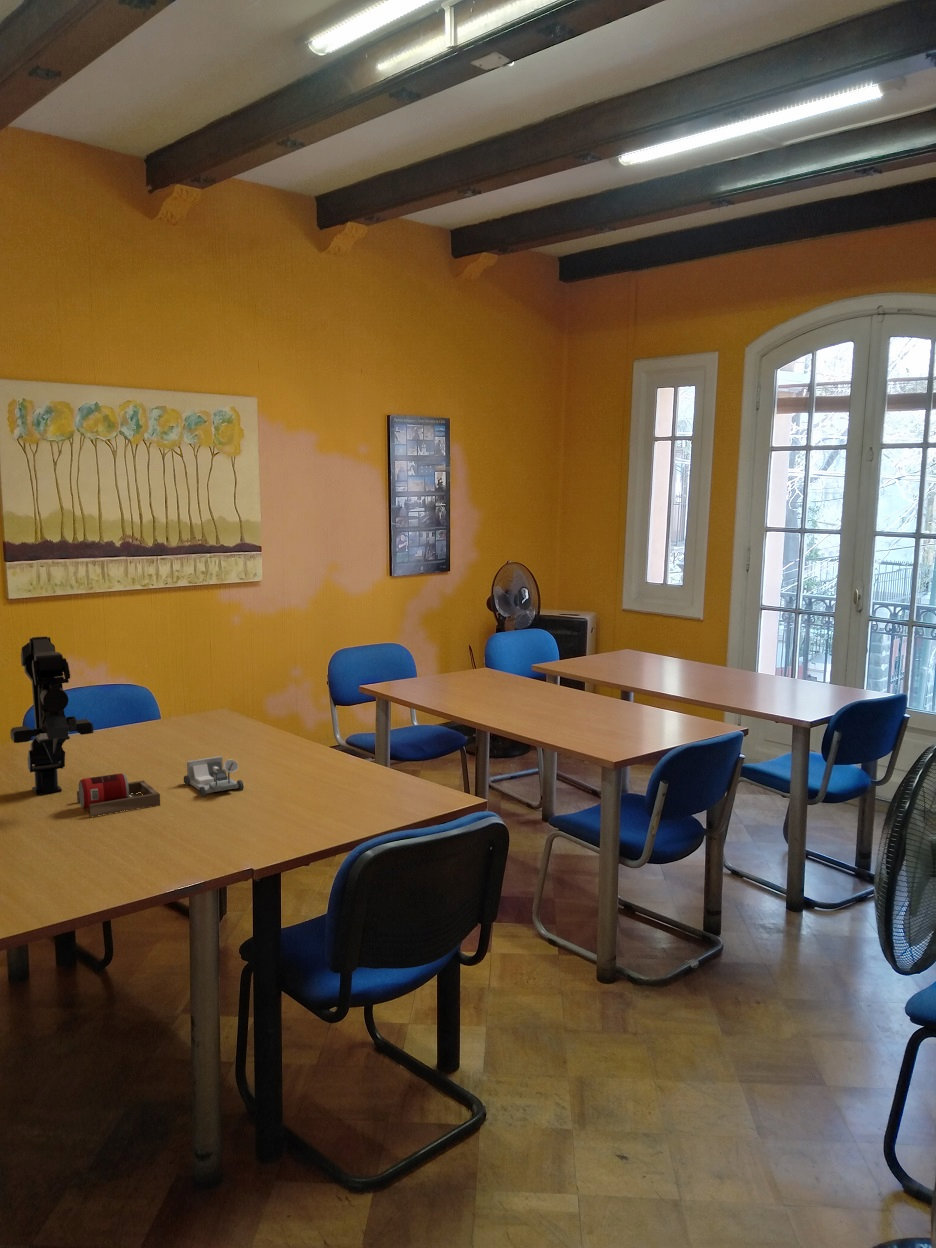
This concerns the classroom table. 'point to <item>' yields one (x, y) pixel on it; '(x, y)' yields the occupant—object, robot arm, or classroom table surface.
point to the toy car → (211, 775)
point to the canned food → (103, 789)
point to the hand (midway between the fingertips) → (53, 763)
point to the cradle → (127, 800)
